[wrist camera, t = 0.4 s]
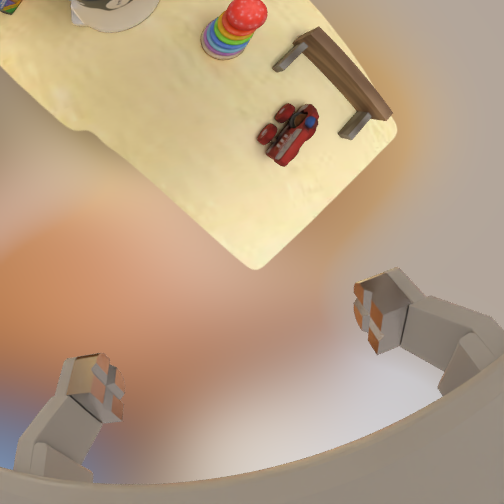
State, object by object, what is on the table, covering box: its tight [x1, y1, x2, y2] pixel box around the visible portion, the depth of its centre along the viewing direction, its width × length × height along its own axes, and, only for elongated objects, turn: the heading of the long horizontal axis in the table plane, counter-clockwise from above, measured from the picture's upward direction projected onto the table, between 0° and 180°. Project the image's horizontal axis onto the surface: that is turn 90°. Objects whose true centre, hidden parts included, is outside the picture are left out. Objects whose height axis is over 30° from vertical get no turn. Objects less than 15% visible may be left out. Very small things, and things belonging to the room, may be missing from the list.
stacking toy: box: [201, 0, 267, 60], centre depth 33 cm, size 8×8×19 cm
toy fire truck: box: [257, 103, 319, 167], centre depth 47 cm, size 7×12×10 cm, turn 141°
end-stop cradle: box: [272, 27, 393, 140], centre depth 46 cm, size 9×21×8 cm, turn 49°
